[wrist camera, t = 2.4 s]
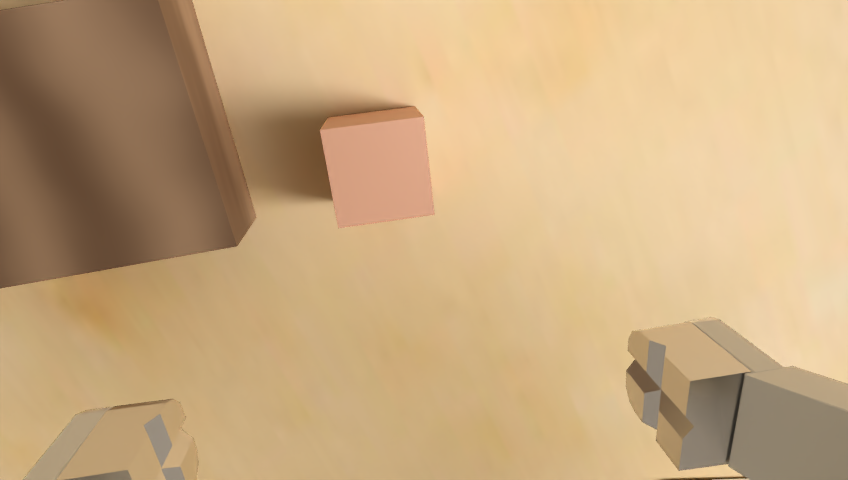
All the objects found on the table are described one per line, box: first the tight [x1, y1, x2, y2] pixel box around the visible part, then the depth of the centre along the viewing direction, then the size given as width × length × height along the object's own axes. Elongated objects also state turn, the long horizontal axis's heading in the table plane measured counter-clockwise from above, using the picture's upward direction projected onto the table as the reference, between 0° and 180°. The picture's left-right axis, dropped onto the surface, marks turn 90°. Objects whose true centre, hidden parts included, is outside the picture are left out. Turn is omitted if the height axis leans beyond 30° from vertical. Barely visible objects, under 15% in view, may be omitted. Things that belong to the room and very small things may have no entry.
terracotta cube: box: [320, 106, 434, 228], centre depth 26 cm, size 5×5×5 cm
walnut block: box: [0, 0, 256, 288], centre depth 25 cm, size 12×12×5 cm
